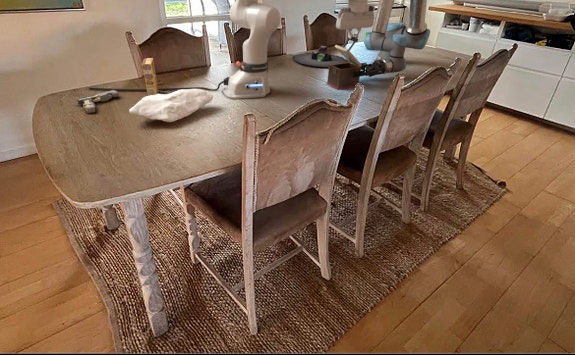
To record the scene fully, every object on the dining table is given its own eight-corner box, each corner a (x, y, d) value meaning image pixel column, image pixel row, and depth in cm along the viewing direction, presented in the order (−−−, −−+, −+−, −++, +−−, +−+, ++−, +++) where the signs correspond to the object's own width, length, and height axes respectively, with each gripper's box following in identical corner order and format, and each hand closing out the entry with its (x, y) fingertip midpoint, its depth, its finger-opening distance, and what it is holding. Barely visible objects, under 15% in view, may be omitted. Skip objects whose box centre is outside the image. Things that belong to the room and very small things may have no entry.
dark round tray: (359, 62, 224) (361, 47, 219) (315, 70, 207) (315, 53, 202) (323, 53, 249) (324, 39, 244) (281, 59, 231) (281, 44, 227)
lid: (346, 51, 174) (357, 35, 172) (334, 46, 181) (344, 31, 179) (360, 66, 183) (371, 52, 181) (348, 62, 190) (359, 47, 188)
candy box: (157, 97, 164) (152, 63, 155) (147, 98, 163) (141, 63, 155) (158, 91, 171) (153, 57, 163) (149, 91, 170) (143, 58, 162)
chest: (337, 89, 183) (340, 70, 177) (327, 83, 190) (329, 64, 184) (358, 86, 188) (361, 67, 183) (347, 80, 195) (349, 62, 190)
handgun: (128, 97, 156) (111, 87, 164) (86, 107, 144) (70, 97, 152) (129, 103, 157) (113, 94, 165) (88, 114, 146) (72, 103, 154)
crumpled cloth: (117, 110, 146) (113, 90, 140) (195, 92, 166) (194, 73, 160) (143, 139, 134) (140, 118, 128) (223, 116, 154) (224, 96, 148)
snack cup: (373, 45, 267) (376, 31, 261) (384, 49, 259) (386, 34, 254) (358, 48, 259) (360, 32, 254) (368, 51, 252) (370, 35, 246)
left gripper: (343, 9, 164) (339, 41, 171) (378, 7, 172) (373, 37, 180) (334, 7, 168) (332, 38, 176) (369, 5, 177) (365, 35, 184)
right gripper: (394, 79, 190) (360, 85, 180) (367, 68, 206) (334, 72, 197) (397, 65, 186) (362, 70, 176) (369, 54, 202) (336, 58, 193)
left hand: (353, 38), depth 178 cm, fingers closed, pressing on lid
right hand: (348, 71), depth 186 cm, fingers closed on chest, 10 cm apart
